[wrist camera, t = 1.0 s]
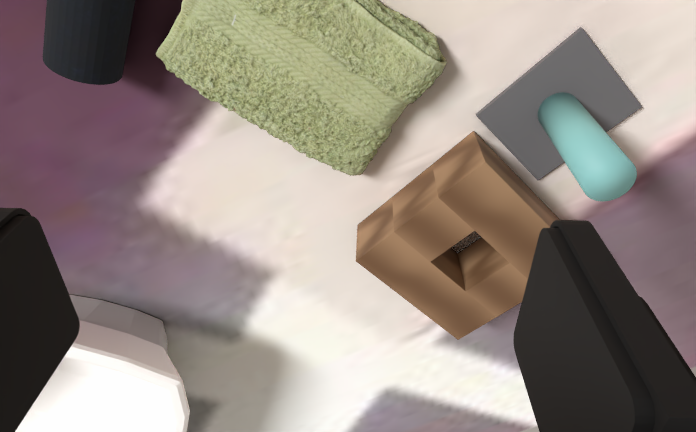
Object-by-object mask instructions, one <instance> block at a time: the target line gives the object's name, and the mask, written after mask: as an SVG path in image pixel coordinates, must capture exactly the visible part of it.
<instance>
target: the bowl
mask: <svg viewBox="0 0 696 432" xmlns="http://www.w3.org/2000/svg"><path fill="white" fill-rule="evenodd" d="M69 296H70V298H71V301H72V303H73V306H74V308H75V310H76V313H77V315H78V318H79V321H80V328H79V333H78V336H77V338H76V340H75V341H74V343H73V344H72V346H71V347H70V349H69V350H68V352H67V353H66V355H65V356H64V358H63V359H62V361H61V362H60V364H59V365H58V367H57V369H56V370H55V372H54V373H53V375H52V376H51V378H50V379H49V381H48V382H47V384H46V385H45V387H44V388H43V390H42V391H41V393H40V394H39V396H38V398H37V399H36V401H35V402H34V404H33V405H32V407H31V408H30V410H29V411H28V413H27V414H26V416H25V417H24V419H23V420H22V422H21V423H20V425H19V426H18V428H17V430H16V431H15V432H187V427H188V421H189V415H190V409H189V405H188V401H187V396H186V392H185V388H184V384H183V380H182V379H181V377H180V375H179V373H178V372H177V370H176V368H175V367H174V365H173V363H172V361H171V360H170V358H169V356H168V349H167V336H166V332H165V328H164V324H163V322H162V321H161V320H160V319H157V318H155V317H152V316H150V315H147V314H145V313H142V312H140V311H138V310H135V309H131V308H128V307H124V306H121V305H117V304H114V303H110V302H107V301H103V300H98V299H92V298H87V297H81V296H75V295H69Z"/></svg>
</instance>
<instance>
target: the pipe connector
mask: <svg viewBox="0 0 696 432" xmlns="http://www.w3.org/2000/svg"><path fill="white" fill-rule="evenodd" d="M134 5H135V0H47V7H46V20H45V33H44V47H43V61H44V63H45V65H46V66H47V67H48V68H49V69H51V70H52V71H53V72H55V73H57V74H59V75H61V76H63V77H65V78H68V79H71V80H74V81H77V82H82V83H87V84H96V85H104V84H112V83H115V82H117V81H119V80H120V79H121V78H122V74H123V69H124V63H125V57H126V51H127V46H128V40H129V34H130V28H131V22H132V16H133V11H134Z"/></svg>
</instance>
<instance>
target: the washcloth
mask: <svg viewBox="0 0 696 432" xmlns="http://www.w3.org/2000/svg"><path fill="white" fill-rule="evenodd" d="M156 56H157V57H158V58H160V59H161V60H162V61H163V62H164V64H165V66H166V69H167V70H169V71H170V72H174V73H175V75H176V77H178V78H181V79H182V80H183V81H184V82H185V83H186V84H187V85H191V86H192V88H194V89H197V90H198V91H199V94H201V95H202V96H204V97H205V98H207V99H209V100H210V101H216V102H219V103H220V104H221V105H222V106H223V107H225V108H228V111H235V112H236V113H237V114H239V116H241V117H242V118H245V119H247V121H249V122H250V123H253V124H254V125H255V124H256V125H258V126H259V128H260V129H264V130H267V132H268V134H270V135H272V136H274V137H275V138H279V140H283V142H288V144H291V145H292V146H293V148H294V149H295V150H297V151H299V152H300V153H306V157H309V158H314V159H316V160H318V161H319V162H321V163H325V164H327V165H330V166H332V168H333V169H334V170H336V169H337V170H339V171H341V172H343V173H346V174H348V175H350V176H351V175H352V176H354V175H361V174H362V173H363V171H364V170H365V169H366V167H367V166H368V164H369V161H371V160H372V159H373V157H374V155H376V153H377V152H378V151H377V149H378V148H379V147H380V146H381V144H382V143H383V142H385V140H386V139H387V138H388V137H389V134H390V133H391V127H392V125H393V124H394V123H395V122H396V120H397V119H398V117H399V116H400V115H401V114H402V112H403V111H404V109H405V108H406V107H407V105H408V104H409V103H413V102H414V101H416V100H417V98H418V97H420V96H421V95H422V93H424V92H425V90H426V89H428V88H429V87H431V86H432V85H433V83H434V81H435V79H436V78H438V77H439V76H440V75H441V74H442V72H443V69H444V67H445V65H446V64H447V61H446V60H445V58H444V56H443V55H442V53H441V51H440V50H439V45H438V43H437V38H436V36H435V35H434V34H433V33H431V32H430V33H428V32H427V31H426V30H425V29H423V28H421V26H420V25H419V24H418V22H417V21H413V20H410V19H409V18H404V16H403V15H402V14H400V13H399V12H396V11H394V10H391V9H389V8H387V7H385V6H384V5H383V4H382V3H381V2H379V1H377V0H183V1H182V5H181V12H180V13H179V15H178V17H177V19H176V20H175V22H174V24H173V26H172V28H171V30H170V32H169V34H168V36H167V37H166V39H165V40H164V42H163V43H162V44H161V46H160V47H159V48H158V51H157V52H156Z"/></svg>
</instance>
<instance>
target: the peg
mask: <svg viewBox="0 0 696 432" xmlns="http://www.w3.org/2000/svg"><path fill="white" fill-rule="evenodd" d="M538 120H539V122H540V124H541V126H542V127H543V129H544V130H545V132H546V133H547V135H548V136H549V138H550V140H551V141H552V143H553V144H554V146H555V147H556V149H557V150H558V152H559V154H560V155H561V157H562V158H563V160H564V161H565V163H566V164H567V166H568V168H569V169H570V171H571V172H572V174H573V175H574V177H575V178H576V180H577V182H578V183H579V185H580V186H581V188H582V189H583V191H584V192H585V194H586V195H587V196H588V197H589V198H591V199H593V200H596V201H610V200H613V199H616V198H618V197H620V196H622V195H624V194H625V193H626V192H628V191H629V190H630V189H631V187H632V186H633V184H634V183H635V180H636V176H637V171H636V168H635V166H634V164H633V163H632V162H631V161H630V160H629V158H628V157H627V156H626V155H625V154H624V153H623V151H622V150H621V149H620V148H619V147H618V146H617V145H616V143H615V142H614V141H613V140H612V139H611V138H610V136H609V135H608V134H607V133H606V132H605V131H604V130H603V128H602V127H601V126H600V125H599V124H598V123H597V122H596V120H595V119H594V118H593V117H592V116H591V115H590V113H589V112H588V111H587V110H586V109H585V108H584V107H583V105H582V104H581V103H580V102H579V101H578V100H577V98H576V97H575V96H573V95H572V94H569V93H565V92H560V93H556V94H553V95H551V96H549V97H548V98H546V99H545V100H544V101H543V102H542V104H541V105H540V107H539V110H538Z"/></svg>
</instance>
